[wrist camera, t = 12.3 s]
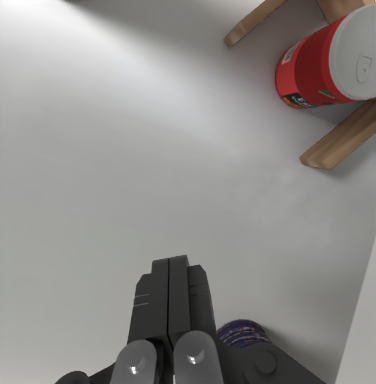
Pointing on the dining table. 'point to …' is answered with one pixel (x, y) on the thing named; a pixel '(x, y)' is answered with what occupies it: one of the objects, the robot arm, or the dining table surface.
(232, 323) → the storage jar
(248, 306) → the dining table surface
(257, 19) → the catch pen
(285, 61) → the canned food
